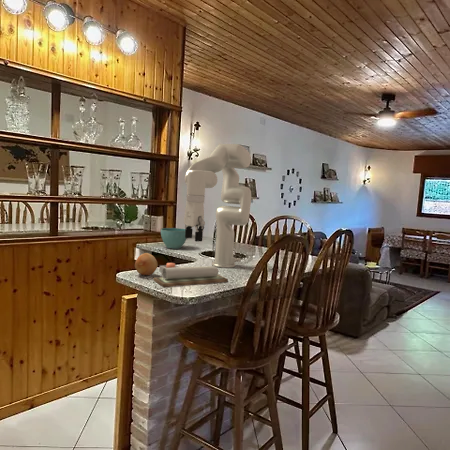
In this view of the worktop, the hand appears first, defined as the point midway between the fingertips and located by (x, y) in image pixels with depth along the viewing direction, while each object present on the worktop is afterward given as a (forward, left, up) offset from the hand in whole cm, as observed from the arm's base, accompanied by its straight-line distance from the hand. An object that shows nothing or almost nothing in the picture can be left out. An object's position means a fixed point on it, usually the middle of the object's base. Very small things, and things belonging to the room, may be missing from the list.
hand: (193, 239), depth 161 cm
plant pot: (-27, -83, -18) cm, 90 cm away
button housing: (+2, -18, -18) cm, 26 cm away
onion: (+15, -15, -18) cm, 28 cm away
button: (+2, -18, -17) cm, 25 cm away
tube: (0, 0, -17) cm, 17 cm away
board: (0, 0, -18) cm, 18 cm away
